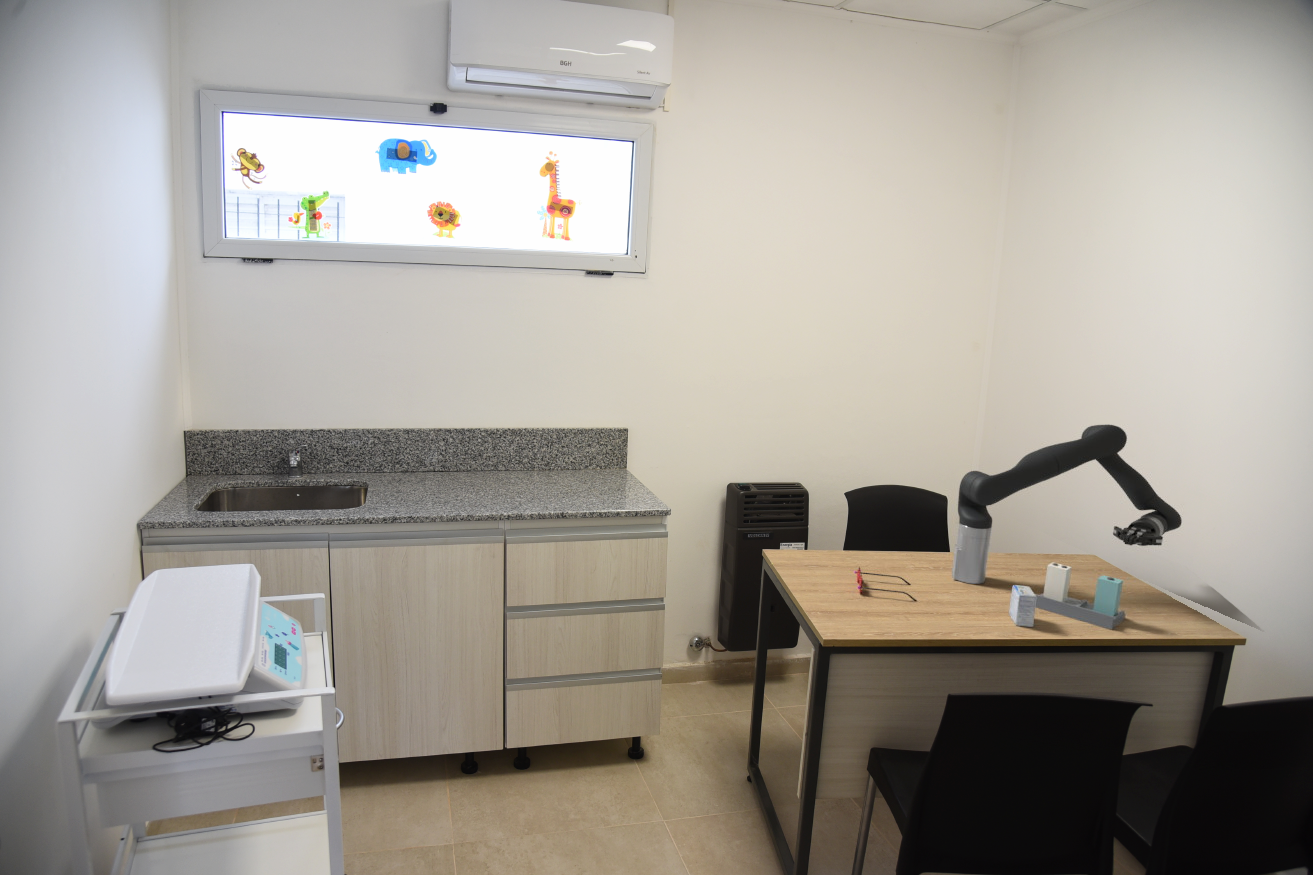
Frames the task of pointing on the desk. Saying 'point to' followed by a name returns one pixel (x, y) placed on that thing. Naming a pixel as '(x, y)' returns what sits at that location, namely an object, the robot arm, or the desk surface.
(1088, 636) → the desk surface
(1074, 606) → the gray divided tray
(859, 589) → the glasses
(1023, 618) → the medicine box
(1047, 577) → the white battery block
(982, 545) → the robot arm
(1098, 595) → the teal block
